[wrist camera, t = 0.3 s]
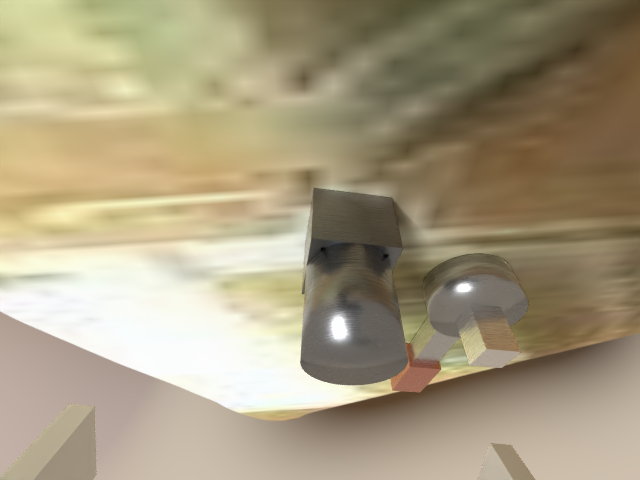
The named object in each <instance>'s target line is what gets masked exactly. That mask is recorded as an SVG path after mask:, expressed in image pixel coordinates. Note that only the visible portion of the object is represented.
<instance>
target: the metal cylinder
mask: <svg viewBox="0 0 640 480" xmlns="http://www.w3.org/2000/svg"><path fill="white" fill-rule="evenodd" d="M402 249H403V246H402V242H401V237H400V233H399V229H398V224H397V220H396V215H395V211H394V207H393V202H392V198H390V197H382V196H374V195H366V194H358V193H350V192H342V191H334V190H326V189H318V188H314V190H313V197H312V203H311V210H310V216H309V223H308V229H307V236H306V242H305V256H304V270H303V285H302V294H305V296H304V312H303V329H302V345H301V361H300V363H301V366H302V368H303V370H304V371H305V372H306V373H307V374H309V375H310V376H312V377H314V378H316V379H318V380H321V381H324V382H328V383H333V384H340V385H365V384H372V383H377V382H381V381H384V380H387V379H390V378H392V377H394V376H396V375H398V374H399V373H401V372H402V371H403V370H404V369H405V368H406V366H407V364H408V354H407V349H406V344H405V338H404V333H403V327H402V322H401V316H400V311H399V305H398V300H397V295H396V289H395V284H394V278H393V273H392V271H393V269H394V267H395V265H396V262H397V260H398V258H399V256H400V254H401V252H402Z"/></svg>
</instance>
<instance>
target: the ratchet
mask: <svg viewBox="0 0 640 480" xmlns="http://www.w3.org/2000/svg"><path fill="white" fill-rule="evenodd" d="M422 292H423V296H424V300H425V304H426V308H427V312H428V317H427V319H426V320H425V321H424V323H423V324H422V326H421V327H420V329H419V330H418V332H417V333H416V335H415V336H414V338H413V339H412V341H411V342H410V344H407V343H406V349H407V354H408V364H407V366H406V368H405V369H404V370H403V371H402V372H401V373H399V374H398V375H396V376H394V377H392V378H391V385H392V390H394V391H409V392H421V391H422V390H423V388H425V386H426V385H427V384H428V383H429V382H430V381H431V380H432V379H433V378H434V377H435V376H436V374H437V373H438V372H439V371H440V370H441V367H440V363H439V360H440V359H441V358H442V357H443V356H444V355H445V353H446V352H447V351H448V350H449V349H450V348H451V347H452V345H453V344H454V343H455V342H456V341H457V340H458V339H459V338H461V340H462V343H463V346H464V350H465V353H466V356H467V359H468V362H469V365H472V366H484V367H497V368H502V367H503V366H505V365H506V364H507V363H508V362H510V361H511V360H512V359H513V358H514V357H516V356H517V355H518V354H519V353H520V352H521V351H520V349H519V347H518V344H517V342H516V340H515V338H514V335H513V333H512V331H511V329H510V326H512V325H513V324H515V323H516V322H518V321H519V320H520V319H521V318H522V317H523V316H524V315H525V313H526V312H527V309H528V305H529V304H528V299H527V297H526V295H525V293H524V292H523V290H522V288H521V286H520V284H519V282H518V280H517V278H516V276H515V274H514V273H513V271H512V269H511V267H510V265H509V264H508V263H507V262H506V261H505V260H503V259H502V258H500V257H497V256H494V255H489V254H469V255H463V256H459V257H455V258H453V259H450V260H447V261H445V262H443V263H441V264H440V265H438V266H437V267H435V268H434V269H433V270H431V271H430V272H429V273H428V274H427V276H426V277H425V279H424V281H423V283H422Z"/></svg>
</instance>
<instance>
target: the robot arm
mask: <svg viewBox="0 0 640 480" xmlns="http://www.w3.org/2000/svg"><path fill="white" fill-rule="evenodd" d="M95 476H96V442H95V407H94V406H85V405H74V404H69V405H68V406H67V407H66V408H65V409H64V410H63V411H62V412H61V413H60V414H59V415H58V416H57V417H56V419H55V420H54V421H53V422H52V423H51V424H50V425H49V426H48V427H47V428H46V429H45V430H44V431H43V432H42V433H41V434H40V436H39V437H38V438H37V439H36V440H35V441H34V442H33V443H32V444H31V445H30V446H29V447H28V448H27V449H26V450H25V452H23V454H22V455H21V456H20V457H19V458H18V459H17V460H16V461H15V462H14V463H13V464H12V465H11V466H10V467H9V468H8V470H7V471H6V472H5V473H4V474H3V475H2V476H1V477H0V480H93V479H94V477H95ZM478 480H535V479H534V477H533V476H532V474H531V473H530V471H529V470H528V468H527V467H526V466H525V464H524V463H523V461H522V460H521V458H520V457H519V455H518V454H517V453H516V451H515V450H514V448H513V447H512V446H511V445H505V444H494V443H490V445H489V448H488V451H487V454H486V457H485V460H484V463H483V465H482V468H481V471H480V474H479V477H478Z"/></svg>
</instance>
